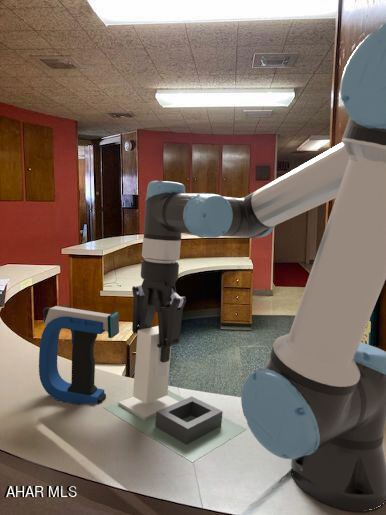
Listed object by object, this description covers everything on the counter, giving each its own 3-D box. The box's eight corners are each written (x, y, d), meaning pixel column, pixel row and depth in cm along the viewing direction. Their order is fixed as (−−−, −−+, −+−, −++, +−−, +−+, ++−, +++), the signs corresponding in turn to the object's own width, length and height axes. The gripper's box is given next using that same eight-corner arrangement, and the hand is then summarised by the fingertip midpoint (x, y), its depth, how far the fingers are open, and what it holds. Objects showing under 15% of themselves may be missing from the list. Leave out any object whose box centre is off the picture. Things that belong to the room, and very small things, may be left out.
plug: (167, 395, 87) (172, 330, 85) (146, 403, 83) (151, 335, 81) (154, 388, 90) (159, 325, 88) (133, 396, 85) (137, 330, 84)
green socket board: (246, 433, 80) (248, 414, 80) (191, 468, 68) (193, 445, 68) (160, 390, 96) (161, 374, 95) (103, 412, 84) (104, 393, 83)
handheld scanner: (107, 411, 84) (113, 316, 82) (35, 397, 87) (40, 306, 85) (115, 402, 89) (122, 311, 87) (47, 389, 92) (51, 302, 90)
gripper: (205, 265, 80) (195, 381, 83) (145, 253, 91) (138, 356, 94) (178, 267, 74) (168, 391, 77) (118, 254, 86) (111, 363, 88)
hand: (152, 372), depth 85 cm, fingers closed on plug, 4 cm apart
